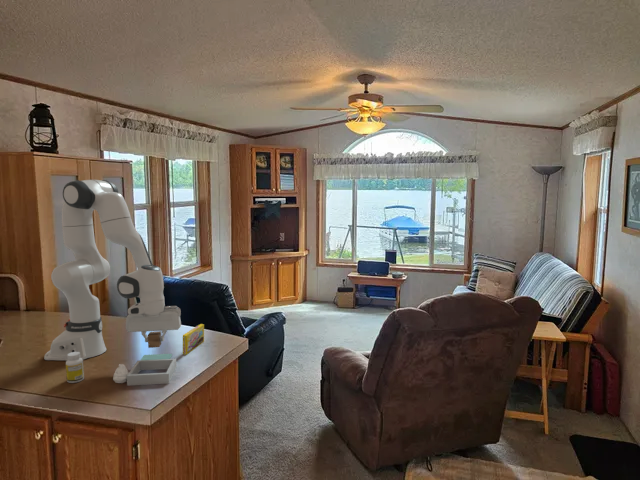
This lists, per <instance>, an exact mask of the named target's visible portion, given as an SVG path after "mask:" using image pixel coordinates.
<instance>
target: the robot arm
mask: <svg viewBox="0 0 640 480" xmlns="http://www.w3.org/2000/svg"><path fill="white" fill-rule="evenodd" d="M62 199H63V200H64V202H63V204H62V207H61V208H62V210H61V226H62V227H61V228H62V237H63V246H64V247H65V249H67V250H70V251H71V252H72V254H73V256H74V259H75V260H72V261H68V262H64V263H62V264H60V265H57V266H56V267H54V269H53V270H52V272H51V276H50V278H51V281H52V285H54V287H55V288H56V289H58V290H60V291H61V292H62V294H63V295H64V296H65V298H66V301H67V304H68V313H69V319H68V320H67V321H65V323H64V324H63V328H65V330H64V331H63V332H62V333H60V334H59V335H57V336H56V337H55V338H54V339H53V340H52V342H51V344H50V350H48V351H47V352H46V353H45V354H44V355H43V356H44V357H43V358H44V360H45V361H67V360H68V358H67V355H68V354H69V353H72V352H80V358H82V359H83V361H84V360H86V359H89V358H93V357H96V356H99V355H102V354H103V353H105V352H106V351H107V347H106V344H105V341H104V338H103V337H104V336H103V322H102V317H101V311H100V306H101V305H100V299H99V298H98V297H97V296H96V295H93V294H92V291H91V289H90V285H94V284H97V283H100V282H102V281H103V280H105V279H107V278H108V277H109V276H110V274H111V264H110V263H109V261H108V260H107V259H105V258H104V257H103V256H102V255H101V253H100V251H99V249H98V247H97V244H96V238H95V233H94V232H95V230H94V221H93V220H94V219H93V212H94V211H96V212H97V214H98V218H99V221H100V226H101V230H102V232H103V235H104V237H105V238H106V239H107V240H108V241H109V242H111V243H113V244H115V245H116V244H117V245H119V246H122V247H125V248H126V249H127V250H128V251H130V253H131V256H132V259H133V262H134V263H135V266H136V270H134V271H132V272H129V273H126V274H123V275H121V276H120V277H119V278H118V280H117V282H116V289H117V292H118V295H120V296H121V297H122V298H124V299H134V298H139V300H140V301H139V302H138V303H135V304H133V305H131V306H130V307H129V308H128V309H127V314H128V315H127V316H126V319H125V330H126V331H127V333H140V332H141V335H142V337H143V338H144V342H145V343H148V334H147V332H160V331H161V336H160V337H159V339H160V342H161V343H162V342H165V335H166V334H167V331H178V330H180V328H181V326H182V321H181V315H182V313H181V312H182V311H181V308H180V307H178V306H177V305H167V306H166V304H165V296H164V288H165V286H164V285H165V283H164V275H163V272H162V271H163V270H162V269H161V267H159V266H158V265H154V264H153V262H152V260H151V257H150V254H149V252H148V249H147V246H146V244H145V241H144V239H143V237H142V235H141V234H140V233H139V232H138V230H137V229H136V227H135V225H134V223H133V220H132V216H131V212H130V210H129V207H128V204H127V202H126V199H125V198H124V196H123V195H122V194H121V193H119V190H118V188H117V186H116V185H115V184H114V183H113V182H112V181H109V180H107V179H106V180H105V179H103V180H101V179H100V180H99V179H85V180H83V179H82V180H79V179H75V180H73V181H69V182H67V183H65V185H64V187H63V189H62Z"/></svg>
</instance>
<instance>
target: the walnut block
mask: <svg viewBox="0 0 640 480" xmlns="http://www.w3.org/2000/svg"><path fill="white" fill-rule="evenodd" d="M147 336H148V342H147V343H148V344H147V345H148V349H152V348H160V346H161V345H162V341H161V342H160V339H159V337H160V336H162V331H149V333H148V334H147Z"/></svg>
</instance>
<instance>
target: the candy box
mask: <svg viewBox="0 0 640 480" xmlns="http://www.w3.org/2000/svg"><path fill="white" fill-rule="evenodd" d="M204 342H205V324H203V323H200V324H198V325H196V326H195V327H193V328H192V329H191V330H189V331H187V332H186V333H183V334H182V355H185V356H187V355H188V354H189V353H191V352H192V351H194V350H195V349H196V348H197V347H199V346H200V345H202V344H203V343H204Z"/></svg>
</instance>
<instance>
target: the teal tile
mask: <svg viewBox="0 0 640 480" xmlns="http://www.w3.org/2000/svg"><path fill="white" fill-rule="evenodd" d="M172 357H173V353H157V354H155V353H154V354H143V356H142V357H141V358H140V360H159V359H172Z"/></svg>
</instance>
